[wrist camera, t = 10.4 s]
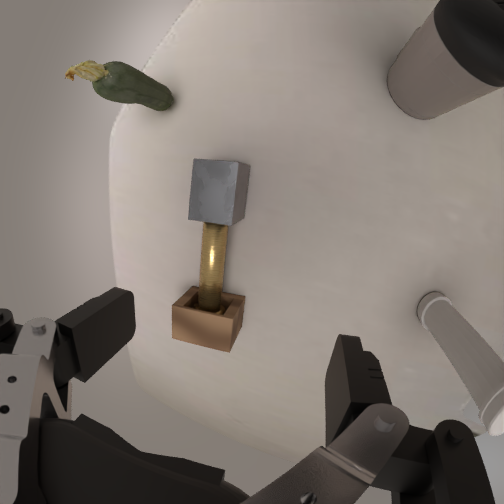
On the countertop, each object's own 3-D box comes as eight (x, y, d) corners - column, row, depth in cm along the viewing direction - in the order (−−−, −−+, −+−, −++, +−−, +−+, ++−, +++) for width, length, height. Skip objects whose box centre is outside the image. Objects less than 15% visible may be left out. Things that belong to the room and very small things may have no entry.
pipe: (409, 319, 37) (495, 487, 8) (426, 281, 35) (551, 428, 6) (437, 326, 36) (527, 475, 7) (453, 290, 34) (574, 421, 6)
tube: (208, 191, 36) (196, 192, 32) (239, 195, 35) (231, 196, 31) (199, 311, 40) (188, 324, 36) (227, 317, 40) (218, 331, 36)
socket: (192, 286, 42) (171, 305, 35) (245, 296, 40) (232, 319, 34) (191, 315, 43) (172, 338, 36) (241, 326, 42) (229, 352, 35)
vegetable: (184, 89, 35) (95, 36, 16) (185, 117, 36) (90, 78, 17) (157, 95, 36) (62, 55, 17) (157, 122, 37) (56, 94, 18)
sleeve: (212, 162, 37) (193, 158, 30) (250, 165, 36) (238, 162, 30) (207, 213, 39) (188, 219, 32) (244, 218, 38) (231, 225, 31)
